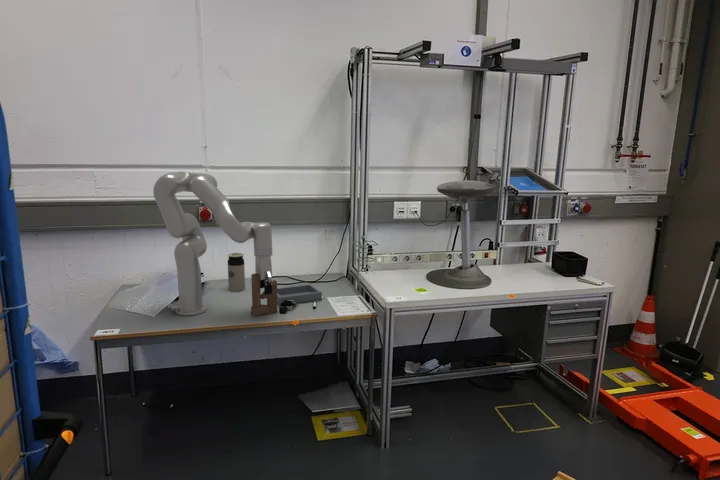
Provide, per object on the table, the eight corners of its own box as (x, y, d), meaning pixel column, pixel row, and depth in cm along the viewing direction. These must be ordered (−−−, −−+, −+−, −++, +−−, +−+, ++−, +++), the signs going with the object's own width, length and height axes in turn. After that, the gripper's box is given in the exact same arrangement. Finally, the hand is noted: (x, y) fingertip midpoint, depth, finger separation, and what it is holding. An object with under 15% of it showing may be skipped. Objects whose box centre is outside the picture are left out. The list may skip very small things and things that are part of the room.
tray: (279, 306, 217) (279, 297, 217) (270, 297, 230) (270, 289, 229) (321, 300, 227) (321, 292, 226) (310, 291, 239) (310, 284, 238)
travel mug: (239, 286, 247) (238, 251, 243) (248, 289, 241) (247, 254, 238) (225, 289, 241) (224, 254, 237) (234, 292, 236) (232, 257, 232)
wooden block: (277, 312, 210) (277, 272, 206) (253, 316, 204) (252, 275, 201) (274, 310, 213) (273, 270, 209) (251, 314, 207) (249, 273, 204)
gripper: (249, 249, 209) (251, 286, 212) (260, 257, 194) (262, 297, 197) (266, 247, 212) (268, 284, 216) (278, 255, 197) (279, 295, 200)
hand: (265, 290), depth 206 cm, fingers open, 9 cm apart
